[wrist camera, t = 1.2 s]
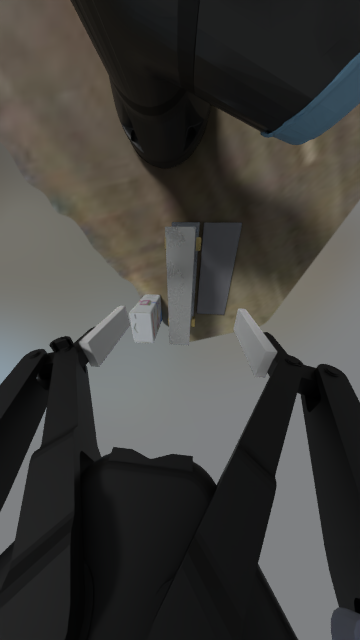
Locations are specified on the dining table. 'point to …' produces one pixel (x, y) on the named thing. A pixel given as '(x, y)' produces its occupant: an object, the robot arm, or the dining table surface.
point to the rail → (179, 281)
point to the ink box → (146, 318)
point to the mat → (217, 266)
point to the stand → (196, 249)
